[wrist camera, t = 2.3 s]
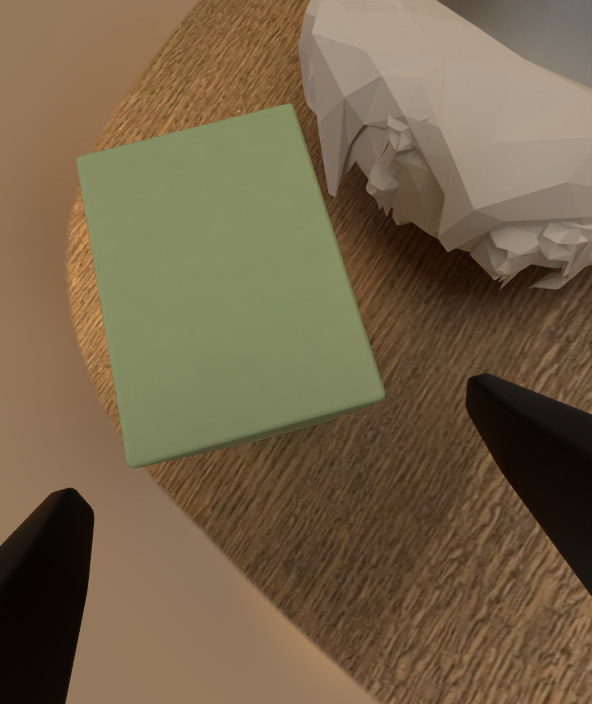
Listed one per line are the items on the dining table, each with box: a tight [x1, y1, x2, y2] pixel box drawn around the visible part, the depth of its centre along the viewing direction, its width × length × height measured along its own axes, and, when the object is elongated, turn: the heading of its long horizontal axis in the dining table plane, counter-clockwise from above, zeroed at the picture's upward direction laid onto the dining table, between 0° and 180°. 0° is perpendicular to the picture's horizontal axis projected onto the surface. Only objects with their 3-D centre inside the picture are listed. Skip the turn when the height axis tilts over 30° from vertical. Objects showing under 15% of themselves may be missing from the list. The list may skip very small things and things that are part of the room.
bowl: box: [298, 0, 592, 291], centre depth 16 cm, size 21×20×10 cm
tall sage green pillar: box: [76, 103, 386, 468], centre depth 12 cm, size 4×6×13 cm
